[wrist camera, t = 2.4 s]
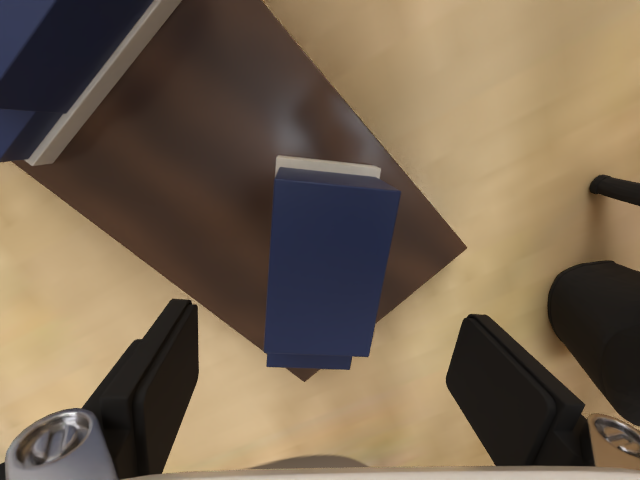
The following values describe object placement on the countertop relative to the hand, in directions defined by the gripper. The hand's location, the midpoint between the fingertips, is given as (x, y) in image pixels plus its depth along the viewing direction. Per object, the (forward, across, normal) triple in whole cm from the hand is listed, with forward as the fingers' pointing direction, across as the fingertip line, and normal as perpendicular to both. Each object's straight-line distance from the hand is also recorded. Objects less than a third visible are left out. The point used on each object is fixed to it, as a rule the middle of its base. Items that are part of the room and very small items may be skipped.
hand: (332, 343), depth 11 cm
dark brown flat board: (+13, +6, -4) cm, 15 cm away
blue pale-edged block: (+10, 0, +1) cm, 10 cm away
